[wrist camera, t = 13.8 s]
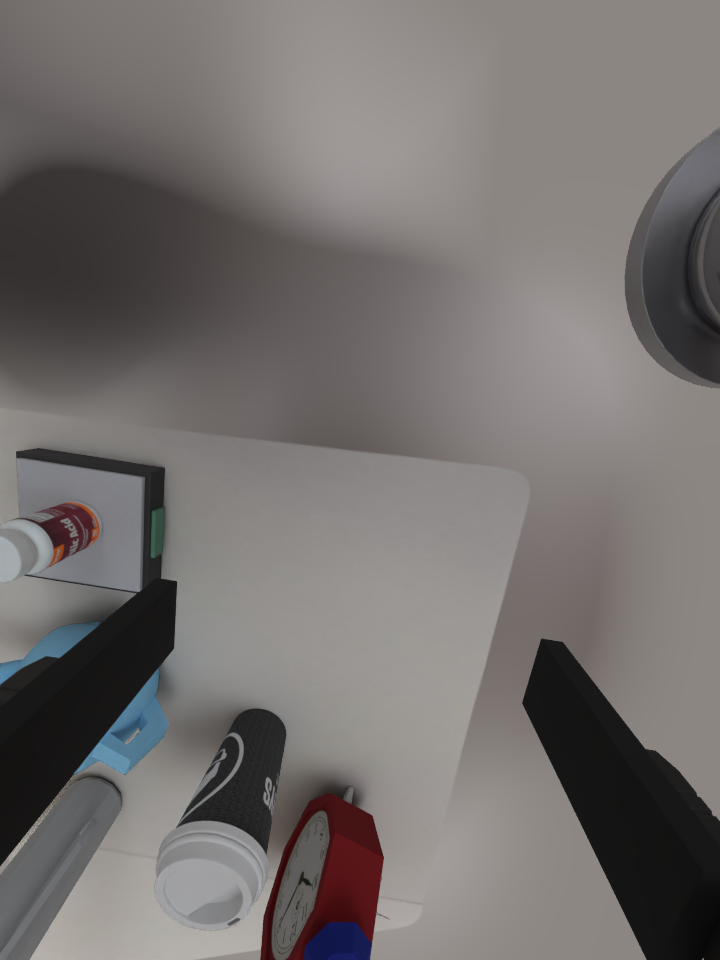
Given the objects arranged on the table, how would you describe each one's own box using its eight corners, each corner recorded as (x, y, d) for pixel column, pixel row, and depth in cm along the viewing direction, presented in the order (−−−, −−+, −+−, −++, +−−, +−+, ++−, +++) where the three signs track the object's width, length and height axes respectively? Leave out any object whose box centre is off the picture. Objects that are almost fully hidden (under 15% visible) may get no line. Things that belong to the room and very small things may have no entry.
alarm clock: (339, 761, 45) (314, 1041, 25) (399, 794, 46) (418, 1090, 26) (278, 837, 48) (214, 1140, 28) (335, 867, 49) (310, 1181, 29)
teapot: (213, 630, 42) (152, 719, 30) (173, 741, 45) (105, 859, 34) (40, 565, 41) (-92, 631, 29) (14, 684, 44) (-114, 785, 33)
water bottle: (102, 827, 49) (-171, 1260, 24) (56, 789, 47) (-279, 1203, 23) (149, 793, 47) (-92, 1218, 23) (103, 753, 46) (-203, 1156, 22)
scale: (38, 448, 38) (10, 452, 35) (168, 468, 38) (151, 474, 35) (43, 564, 41) (17, 577, 38) (164, 583, 41) (148, 598, 38)
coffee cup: (237, 771, 46) (173, 946, 31) (207, 708, 44) (124, 863, 29) (309, 754, 45) (279, 927, 30) (282, 689, 43) (235, 840, 28)
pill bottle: (107, 546, 37) (30, 590, 28) (60, 545, 37) (-30, 587, 28) (101, 500, 36) (19, 531, 27) (52, 498, 36) (-43, 528, 27)
